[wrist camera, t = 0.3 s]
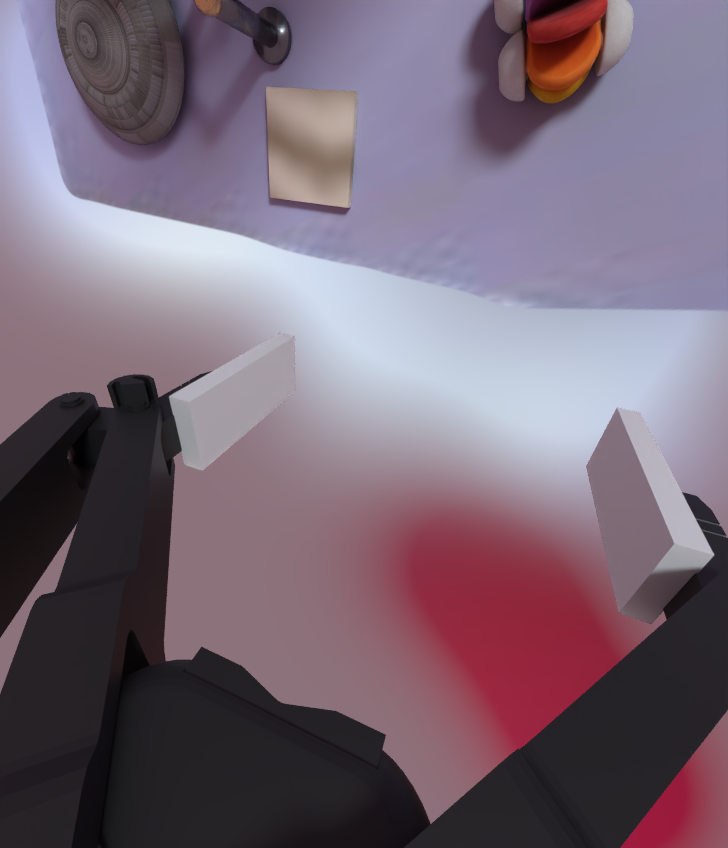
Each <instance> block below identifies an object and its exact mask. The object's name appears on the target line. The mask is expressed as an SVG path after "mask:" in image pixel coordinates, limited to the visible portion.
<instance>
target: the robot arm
mask: <svg viewBox="0 0 728 848" xmlns="http://www.w3.org/2000/svg"><path fill="white" fill-rule="evenodd" d="M107 387H108V391H109V394H110V397H111V400H112V403H113V406H114V408H107V407H99V406H98V404H97V401H96V398H95V396H94V395H92V394H90V393H84V392H79V393H78V392H77V393H76V392H72V393H69V394H68V393H66V394H63V395H62V396H59V397H56V398H54V399H53V400H51V401H50V402H48V403H47V404H46V405H45V406H44V407H43V408H41V409H40V410H39V411H38V412H37V413H36V414H35V415H33V416H32V417H31V418H30V419H29V420H28V421H27V422H25V423H24V424H23V425H22V426H21V427H20V428H19V429H17V430H16V431H15V432H14V433H13V434H12V435H11V436H9V437H8V438H7V439H6V440H5V441H4V442H3V443H2V444H0V637H1V636H2V634H3V633H4V631H5V630H6V628H7V627H8V625H9V624H10V622H11V621H12V619H13V618H14V616H15V615H16V613H17V612H18V610H19V609H20V608H21V606H22V605H23V603H24V601H25V600H26V599H27V597H28V595H29V594H30V593H31V591H32V589H33V588H34V586H35V585H36V583H37V582H38V581H39V579H40V578H41V576H42V575H43V573H44V572H45V570H46V569H47V567H48V566H49V564H50V563H51V561H52V560H53V558H54V557H55V555H56V554H57V552H58V551H59V549H60V548H61V546H62V545H63V543H64V542H65V540H66V539H67V537H68V536H69V534H70V533H71V531H72V530H73V528H74V527H75V525H76V524H77V526H76V529H75V532H74V535H73V539H72V541H71V545H70V548H69V551H68V554H67V557H66V560H65V563H64V566H63V570H62V573H61V576H60V579H59V582H58V585H57V588H56V590H55V592H53V593H49V594H44V595H41V596H40V597H39V598H38V599H37V600H36V601H35V603H34V605H33V607H32V609H31V611H30V614H29V617H28V619H27V622H26V625H25V628H24V630H23V633H22V636H21V639H20V641H19V644H18V647H17V650H16V652H15V655H14V658H13V661H12V663H11V666H10V669H9V672H8V674H7V677H6V680H5V683H4V685H3V688H2V691H1V694H0V848H620V847H621V846H622V845H623V843H624V842H625V841H626V839H627V838H628V837H629V836H630V834H631V833H632V832H633V831H634V829H635V828H636V827H637V825H638V824H639V823H640V822H641V820H642V819H643V818H644V817H645V815H646V814H647V813H648V811H649V810H650V809H651V808H652V806H653V805H654V804H655V802H656V801H657V800H658V798H659V797H660V796H661V795H662V793H663V792H664V791H665V790H666V788H667V787H668V786H669V784H670V783H671V782H672V781H673V779H674V778H675V777H676V775H677V774H678V773H679V772H680V770H681V769H682V768H683V767H684V765H685V764H686V763H687V761H688V760H689V759H690V758H691V756H692V755H693V754H694V752H695V751H696V750H697V749H698V747H699V746H700V745H701V743H702V742H703V741H704V739H705V738H706V737H707V736H708V734H709V733H710V732H711V731H712V729H713V728H714V727H715V725H716V724H717V723H718V721H719V720H720V719H721V718H722V716H723V715H724V714H725V713H726V711H727V710H728V538H726V534H725V532H724V530H723V529H722V527H721V526H719V524H720V523H719V522H718V520H717V519H716V517H715V515H714V513H713V512H712V510H711V509H710V508H709V507H708V506H707V505H706V504H705V503H704V502H702V501H701V500H700V499H699V498H698V497H697V496H694V495H690V494H687V493H683V492H681V490H680V488H679V486H678V484H677V482H676V480H675V478H674V476H673V474H672V473H671V471H670V469H669V467H668V465H667V463H666V461H665V459H664V457H663V455H662V454H661V451H660V450H659V448H658V446H657V444H656V442H655V440H654V438H653V436H652V434H651V432H650V430H649V428H648V426H647V425H646V422H645V421H644V419H643V417H642V415H641V413H639V412H635V411H630V410H625V409H621V408H617V409H616V410H615V413H614V414H613V416H612V418H611V420H610V422H609V424H608V426H607V428H606V430H605V431H604V433H603V435H602V437H601V439H600V441H599V443H598V445H597V447H596V449H595V451H594V452H593V454H592V456H591V458H590V460H589V462H588V464H587V466H586V467H587V472H588V476H589V481H590V485H591V490H592V494H593V499H594V504H595V508H596V512H597V517H598V521H599V526H600V531H601V535H602V540H603V544H604V549H605V553H606V558H607V563H608V567H609V571H610V575H611V580H612V585H613V590H614V594H615V599H616V603H617V607H618V612H619V613H620V614H623V615H626V616H629V617H632V618H635V619H638V620H640V621H643V622H646V623H649V624H652V623H653V622H654V621H655V620H656V619H657V618H658V616H659V615H660V614H661V613H662V612H663V611H664V613H665V616H666V619H667V620H666V621H665V622H664V623H663V624H662V625H661V626H659V627H658V628H657V629H656V630H655V631H654V632H653V633H652V634H650V635H649V636H648V637H647V638H646V639H645V640H644V641H642V642H641V643H640V644H639V645H638V646H637V647H636V648H635V649H634V650H632V651H631V652H630V653H629V654H628V655H627V656H625V657H624V658H623V659H622V660H621V661H620V662H619V663H618V664H617V665H615V666H614V667H613V668H612V669H611V670H610V671H609V672H607V673H606V674H605V675H604V676H603V677H602V678H601V679H600V680H598V681H597V682H596V683H595V684H594V685H593V686H592V687H590V688H589V689H588V690H587V691H586V692H585V693H584V694H583V695H581V696H580V697H579V698H578V699H577V700H576V701H575V702H574V703H572V704H571V705H570V706H569V707H568V708H567V709H565V710H564V711H563V712H562V713H561V714H560V715H559V716H558V717H556V718H555V719H554V720H553V721H552V722H551V723H550V724H549V725H547V726H546V727H545V728H544V729H543V730H542V731H541V732H540V733H538V734H537V735H536V736H535V737H534V738H533V739H532V740H530V741H529V742H528V743H527V744H526V745H525V746H523V747H522V748H520V749H517V750H516V751H515V752H513V753H512V754H511V755H509V756H508V757H507V758H506V759H505V760H504V761H502V762H501V763H500V764H499V765H498V766H497V767H495V768H494V769H493V770H492V771H491V772H490V773H489V774H488V775H486V777H484V778H483V779H482V780H481V781H480V782H478V783H477V784H476V785H475V786H474V787H473V788H472V789H470V790H469V791H468V792H467V793H466V794H465V795H464V796H462V797H461V798H460V799H459V800H458V801H457V802H456V803H454V805H452V806H451V807H450V808H449V809H448V810H446V811H445V812H444V813H443V814H442V815H441V816H440V817H438V818H437V819H436V820H435V821H434V822H433V823H432V824H430V821H429V819H428V816H427V814H426V811H425V809H424V807H423V804H422V802H421V800H420V799H419V796H418V795H417V793H416V791H415V789H414V787H413V785H412V784H411V783H410V781H409V780H408V778H407V777H406V775H405V774H404V772H403V771H402V770H401V769H400V767H399V766H398V765H397V764H396V763H395V761H394V760H393V759H392V758H391V757H390V756H389V755H387V754H386V753H385V752H384V751H383V750H382V748H383V744H384V740H385V736H386V735H385V734H383V733H381V732H379V731H377V730H374V729H372V728H370V727H368V726H366V725H364V724H362V723H360V722H358V721H356V720H354V719H351V718H349V717H347V716H345V715H343V714H341V713H339V712H337V711H332V710H324V709H317V708H310V707H303V706H296V705H289V704H283V703H281V702H279V701H278V700H276V699H275V698H274V697H273V696H272V695H271V694H270V693H269V692H268V691H267V690H266V689H265V688H264V687H263V686H262V685H261V684H260V683H259V682H258V681H257V680H256V679H255V678H254V677H253V676H252V675H251V674H250V673H249V672H248V671H246V670H245V668H243V667H242V666H241V665H238V664H236V663H234V662H232V661H230V660H228V659H226V658H224V657H222V656H220V655H218V654H215V653H213V652H211V651H209V650H207V649H205V648H203V647H201V648H200V650H199V651H198V653H197V654H196V656H195V657H194V658H193V659H192V660H173V661H166V660H165V653H164V630H165V615H166V597H167V582H168V567H169V551H170V536H171V520H172V505H173V489H174V473H175V472H174V471H175V464H174V459H173V457H174V456H176V454H178V453H179V452H182V457H183V461H184V465H187V466H189V467H192V468H195V469H198V470H201V471H203V470H204V469H205V468H206V467H207V466H209V465H210V464H211V463H212V462H213V461H215V460H216V459H217V458H218V457H219V456H220V455H221V454H222V453H224V452H225V451H226V450H227V449H228V448H230V447H231V446H232V445H233V444H234V443H235V442H237V441H238V440H239V439H240V438H241V437H242V436H243V435H245V434H246V433H247V432H248V431H249V430H250V429H252V428H253V427H254V426H255V425H256V424H257V423H259V422H260V421H261V420H262V419H263V418H264V417H265V416H267V415H268V414H269V413H270V412H271V411H272V410H274V409H275V408H276V407H277V406H278V405H279V404H281V403H282V402H283V401H284V400H285V399H286V398H287V397H289V396H290V395H291V394H292V393H293V392H294V391H295V390H296V387H295V337H294V336H291V335H287V334H282V333H279V334H277V335H275V336H273V337H272V338H270V339H268V340H266V341H265V342H263V343H261V344H259V345H258V346H256V347H254V348H252V349H251V350H249V351H247V352H246V353H244V354H242V355H241V356H238V357H237V358H235V359H233V360H231V361H230V362H228V363H226V364H224V365H223V366H221V367H219V368H217V369H216V370H214V371H211V372H207V373H204V374H200V375H199V376H196V377H195V378H193V379H191V380H190V382H189V381H188V382H186V383H184V384H182V386H179V387H177V388H175V389H173V390H172V391H170V392H168V393H166V394H164V395H163V396H161V397H159V398H158V394H157V390H156V386H155V382H154V379H153V378H152V377H150V376H146V375H127V376H123V377H119V378H117V379H114V380H113V381H111V382H110V383H109V384H108V385H107ZM67 457H68V458H67ZM77 522H78V523H77Z"/></svg>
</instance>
